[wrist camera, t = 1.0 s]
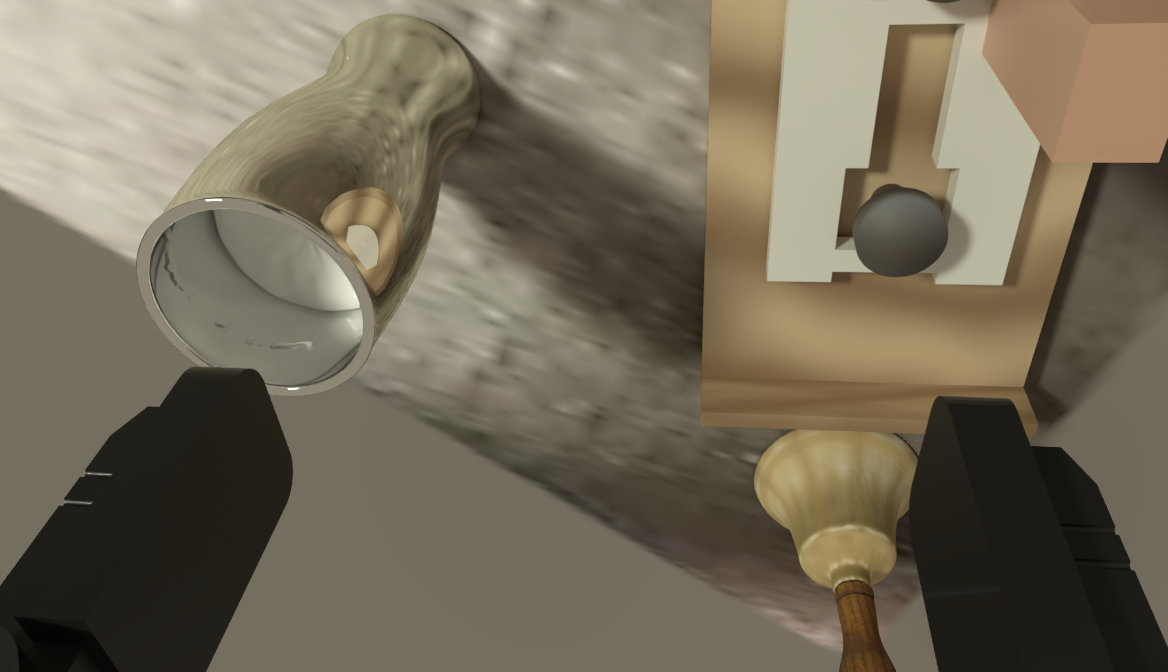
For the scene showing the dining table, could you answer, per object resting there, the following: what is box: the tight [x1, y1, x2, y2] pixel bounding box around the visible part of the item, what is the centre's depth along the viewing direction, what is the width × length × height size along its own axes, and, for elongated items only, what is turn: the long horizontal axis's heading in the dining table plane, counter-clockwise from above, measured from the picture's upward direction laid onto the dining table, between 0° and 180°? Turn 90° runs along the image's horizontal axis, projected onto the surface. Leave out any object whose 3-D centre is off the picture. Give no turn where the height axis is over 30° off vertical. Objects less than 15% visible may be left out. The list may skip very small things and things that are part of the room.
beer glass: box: [136, 14, 481, 397], centre depth 30 cm, size 7×7×15 cm
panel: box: [766, 0, 1168, 285], centre depth 27 cm, size 21×9×9 cm, turn 3°
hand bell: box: [754, 429, 918, 672], centre depth 40 cm, size 8×8×16 cm
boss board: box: [700, 0, 1093, 438], centre depth 32 cm, size 28×14×4 cm, turn 3°
